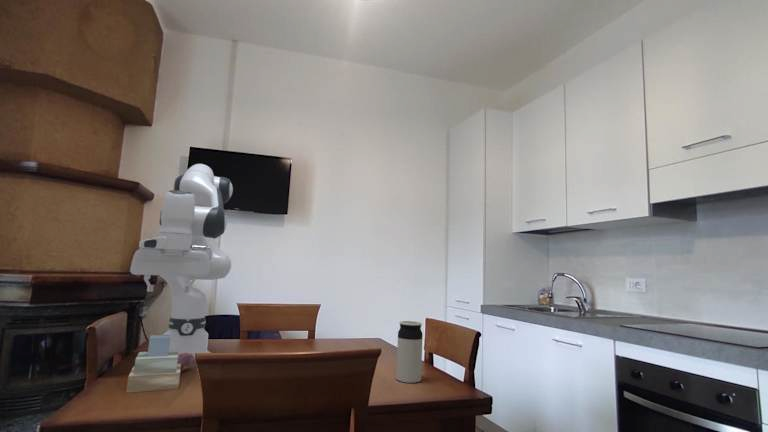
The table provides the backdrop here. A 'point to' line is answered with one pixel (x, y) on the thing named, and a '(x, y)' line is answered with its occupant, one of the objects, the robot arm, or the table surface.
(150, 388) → the cream stepped block
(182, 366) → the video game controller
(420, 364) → the travel mug
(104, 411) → the table surface
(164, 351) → the slate brick
